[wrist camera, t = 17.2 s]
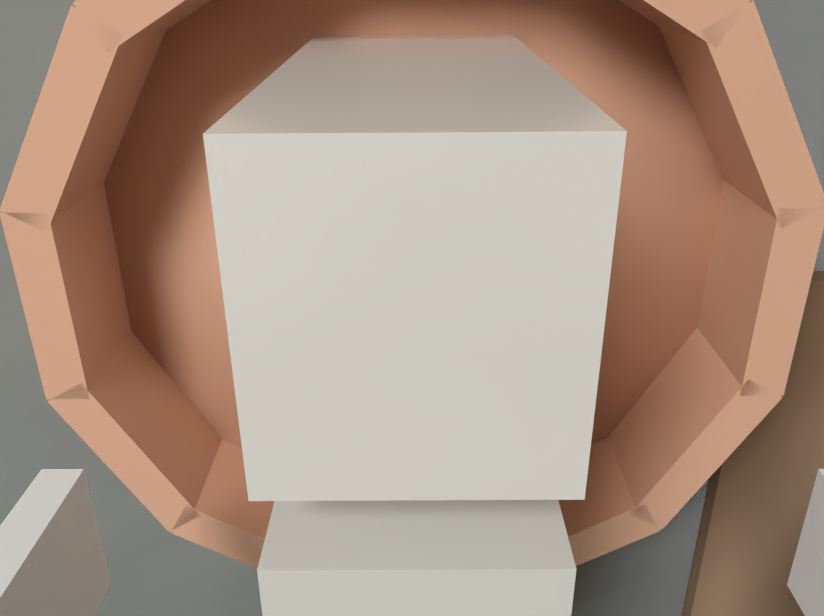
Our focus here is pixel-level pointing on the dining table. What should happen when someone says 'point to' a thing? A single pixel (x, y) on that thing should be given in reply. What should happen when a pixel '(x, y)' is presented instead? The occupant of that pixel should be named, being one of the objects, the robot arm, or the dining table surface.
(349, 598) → the off-white rectangular block
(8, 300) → the dining table surface
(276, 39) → the bowl
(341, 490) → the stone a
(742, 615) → the board
